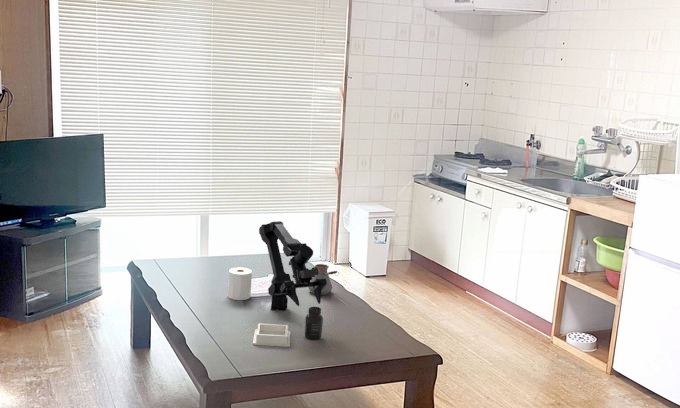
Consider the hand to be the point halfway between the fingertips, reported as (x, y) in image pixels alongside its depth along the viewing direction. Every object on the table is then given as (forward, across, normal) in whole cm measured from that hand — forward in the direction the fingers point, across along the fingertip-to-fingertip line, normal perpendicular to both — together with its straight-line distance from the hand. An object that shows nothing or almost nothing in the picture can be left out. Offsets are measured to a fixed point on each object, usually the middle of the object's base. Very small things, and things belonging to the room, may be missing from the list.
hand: (309, 304), depth 290 cm
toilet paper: (-25, -12, +42) cm, 50 cm away
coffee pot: (-18, +27, +35) cm, 48 cm away
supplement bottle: (+12, 0, +5) cm, 13 cm away
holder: (+10, -16, +7) cm, 20 cm away
